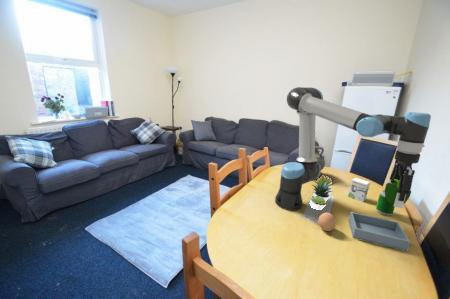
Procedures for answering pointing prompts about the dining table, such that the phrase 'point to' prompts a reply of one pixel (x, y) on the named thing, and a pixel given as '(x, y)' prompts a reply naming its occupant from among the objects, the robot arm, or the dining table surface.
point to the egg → (327, 221)
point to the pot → (320, 157)
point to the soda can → (384, 205)
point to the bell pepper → (393, 192)
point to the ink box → (359, 189)
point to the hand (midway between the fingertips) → (394, 201)
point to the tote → (378, 231)
